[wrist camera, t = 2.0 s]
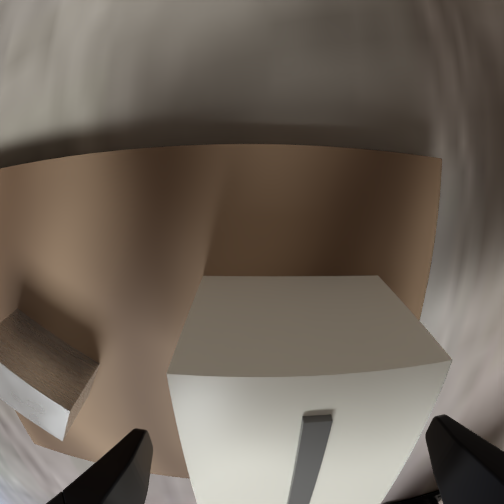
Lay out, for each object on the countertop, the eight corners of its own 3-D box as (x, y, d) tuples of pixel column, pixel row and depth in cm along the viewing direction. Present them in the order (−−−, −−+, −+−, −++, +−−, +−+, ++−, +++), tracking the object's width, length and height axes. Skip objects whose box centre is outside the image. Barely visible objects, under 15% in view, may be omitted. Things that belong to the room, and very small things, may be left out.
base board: (421, 157, 11) (441, 158, 9) (360, 453, 15) (365, 472, 14) (-31, 176, 11) (-51, 181, 9) (43, 428, 15) (34, 443, 14)
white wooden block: (17, 308, 11) (-24, 342, 8) (99, 363, 12) (70, 411, 9) (13, 345, 11) (-22, 380, 9) (88, 396, 12) (62, 441, 9)
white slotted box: (377, 275, 10) (456, 365, 5) (344, 432, 13) (369, 525, 8) (202, 276, 10) (164, 380, 5) (216, 436, 13) (205, 535, 8)
